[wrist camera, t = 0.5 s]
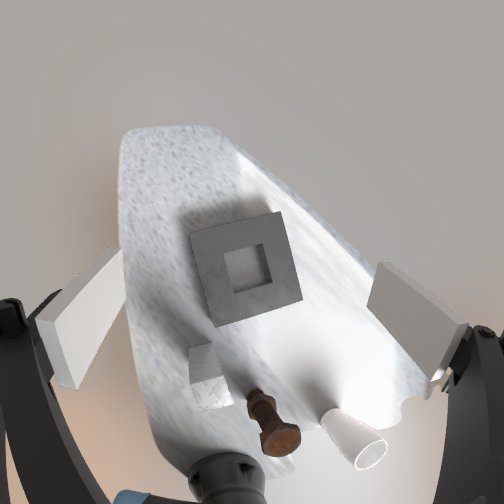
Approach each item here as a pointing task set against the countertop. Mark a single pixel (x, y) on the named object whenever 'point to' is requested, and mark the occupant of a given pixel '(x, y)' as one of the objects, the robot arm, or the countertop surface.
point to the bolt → (272, 426)
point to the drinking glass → (353, 439)
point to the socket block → (246, 268)
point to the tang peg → (207, 378)
